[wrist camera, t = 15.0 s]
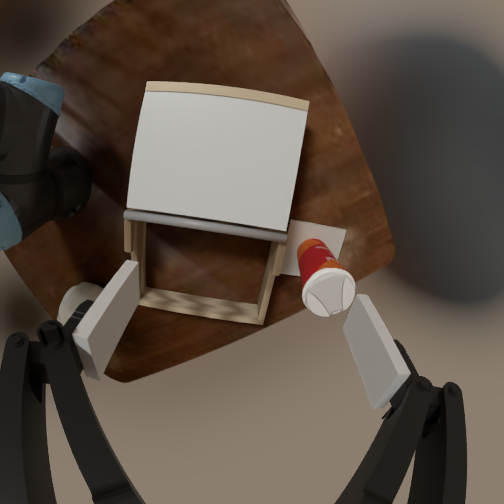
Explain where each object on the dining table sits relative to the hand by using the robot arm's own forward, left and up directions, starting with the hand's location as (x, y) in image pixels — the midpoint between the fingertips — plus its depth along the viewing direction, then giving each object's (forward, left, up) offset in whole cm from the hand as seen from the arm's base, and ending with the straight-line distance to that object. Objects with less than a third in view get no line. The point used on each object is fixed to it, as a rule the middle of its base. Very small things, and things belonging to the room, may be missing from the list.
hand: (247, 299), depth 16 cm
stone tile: (+14, -11, -35) cm, 39 cm away
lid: (-6, +4, -31) cm, 31 cm away
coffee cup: (+14, -11, -34) cm, 39 cm away
